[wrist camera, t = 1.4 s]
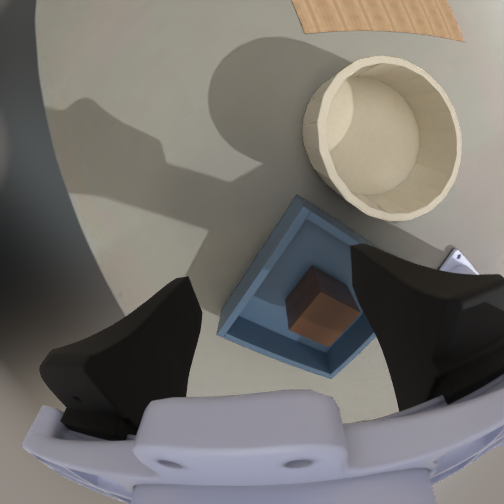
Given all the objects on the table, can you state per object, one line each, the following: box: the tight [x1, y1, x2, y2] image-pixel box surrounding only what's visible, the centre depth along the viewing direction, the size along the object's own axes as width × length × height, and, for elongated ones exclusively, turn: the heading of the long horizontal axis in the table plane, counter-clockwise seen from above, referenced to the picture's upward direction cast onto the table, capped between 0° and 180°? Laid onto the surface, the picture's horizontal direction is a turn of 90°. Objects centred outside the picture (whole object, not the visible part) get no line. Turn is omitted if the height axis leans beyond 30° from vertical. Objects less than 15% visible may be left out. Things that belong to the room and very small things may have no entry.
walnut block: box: [285, 265, 361, 347], centre depth 21 cm, size 4×4×4 cm
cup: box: [302, 55, 461, 221], centre depth 15 cm, size 10×10×6 cm
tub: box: [217, 195, 377, 379], centre depth 22 cm, size 12×12×3 cm
